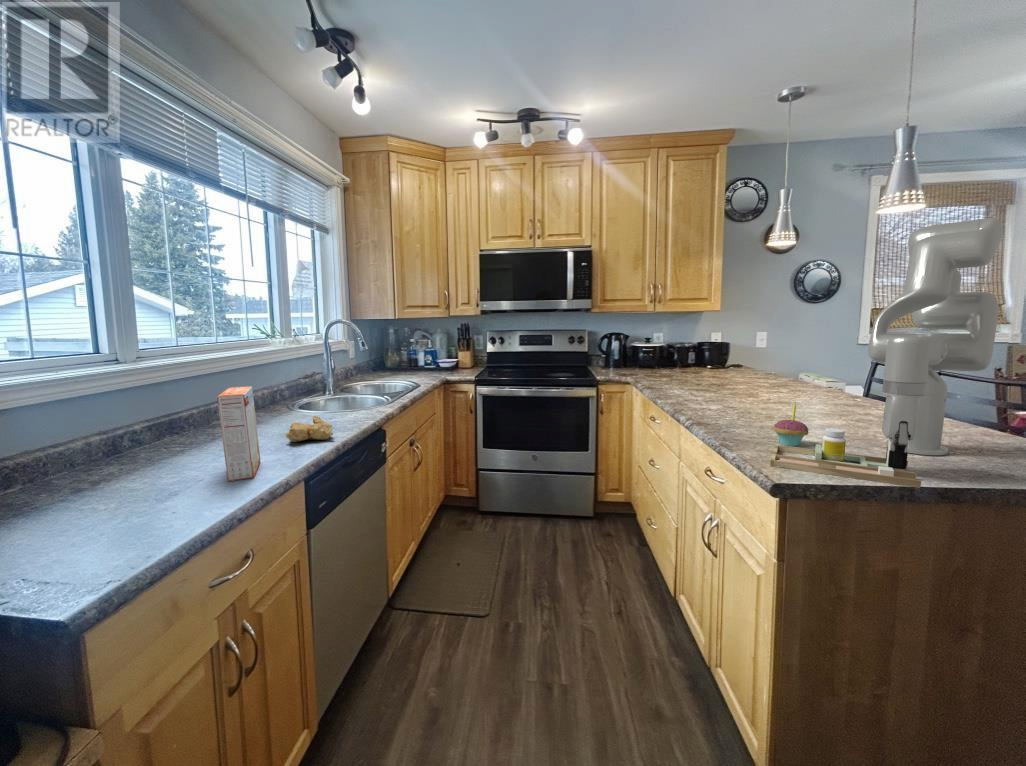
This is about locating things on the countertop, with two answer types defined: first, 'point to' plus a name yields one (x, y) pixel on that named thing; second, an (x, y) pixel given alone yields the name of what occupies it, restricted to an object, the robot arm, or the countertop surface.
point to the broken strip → (849, 468)
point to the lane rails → (830, 467)
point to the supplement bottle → (833, 445)
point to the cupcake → (790, 430)
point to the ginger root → (310, 431)
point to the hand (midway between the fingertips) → (895, 465)
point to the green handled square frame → (857, 458)
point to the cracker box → (239, 432)
